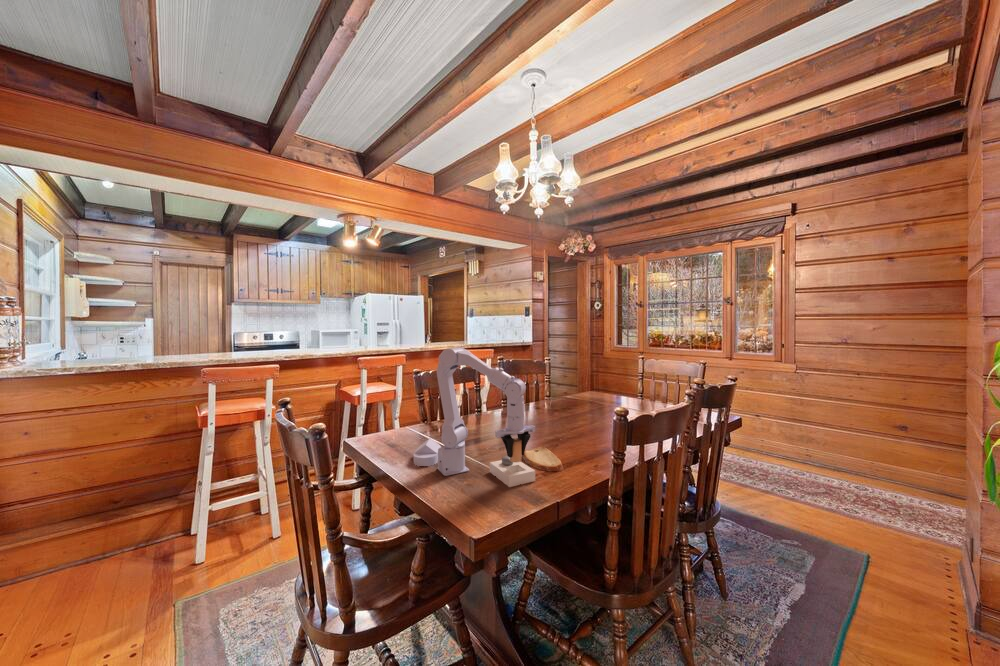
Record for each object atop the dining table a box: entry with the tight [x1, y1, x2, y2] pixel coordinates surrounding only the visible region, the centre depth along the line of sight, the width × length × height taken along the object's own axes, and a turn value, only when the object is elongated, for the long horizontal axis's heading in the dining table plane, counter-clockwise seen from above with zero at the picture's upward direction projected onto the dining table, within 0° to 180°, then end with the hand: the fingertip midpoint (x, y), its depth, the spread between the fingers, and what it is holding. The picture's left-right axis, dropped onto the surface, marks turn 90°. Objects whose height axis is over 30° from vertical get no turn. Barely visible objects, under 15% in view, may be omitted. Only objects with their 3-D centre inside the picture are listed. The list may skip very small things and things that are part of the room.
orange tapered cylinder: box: [510, 437, 523, 462], centre depth 130 cm, size 4×4×7 cm
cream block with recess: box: [489, 455, 536, 488], centre depth 133 cm, size 10×14×6 cm
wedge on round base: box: [413, 437, 442, 467], centre depth 148 cm, size 9×7×13 cm
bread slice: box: [522, 446, 564, 472], centre depth 148 cm, size 18×18×4 cm
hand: (515, 455), depth 131 cm, fingers closed on orange tapered cylinder, 4 cm apart
